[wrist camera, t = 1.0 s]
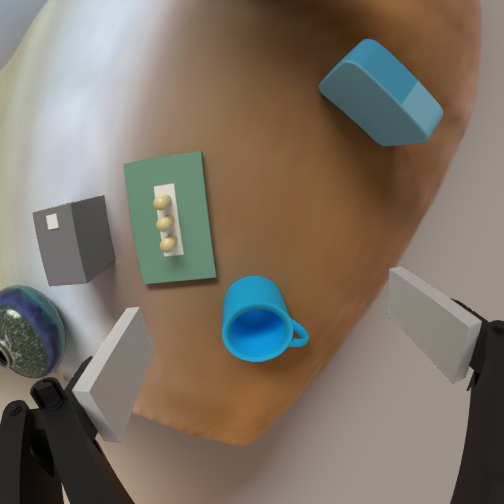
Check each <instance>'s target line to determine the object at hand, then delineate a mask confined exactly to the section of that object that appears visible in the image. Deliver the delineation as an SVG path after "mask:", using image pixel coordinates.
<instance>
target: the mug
mask: <svg viewBox="0 0 504 504" xmlns="http://www.w3.org/2000/svg"><path fill="white" fill-rule="evenodd" d="M293 330H294V331H295V332H296V333H297V334H298V335H299V336H300V337H301V339H297V338H292V337H293ZM222 335H223V341H224V343H225V346H226V348H227V349H228V350H229V351H230V352H231V353H232V354H233V355H234V356H236V357H238V358H240V359H242V360H246V361H250V362H263V361H266V360H270V359H273V358H275V357H276V356H278V355H280V354H281V353H283V351H284V350H285V349H286V348H287V347H288V346H290V347H301V346H304V345H305V344H306V343H307V342H308V341H309V335H308V333H307V331H306V330H305V329H304V328H303V327H302V326H301V325H300V324H299V323H298V322H296V321H295V320H293V319H292V318H290V316H289V313H288V310H287V308H286V305H285V302H284V300H283V297H282V294H281V292H280V290H279V288H278V287H277V286H276V284H275V283H273V282H272V281H270V280H269V279H267V278H264V277H260V276H248V277H245V278H242V279H239V280H238V281H236V282H235V283H234V284H232V285H231V287H230V288H229V289H228V291H227V293H226V296H225V299H224V310H223V326H222Z"/></svg>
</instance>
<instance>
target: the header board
mask: <svg viewBox="0 0 504 504" xmlns="http://www.w3.org/2000/svg"><path fill="white" fill-rule="evenodd" d="M124 172H125V180H126V188H127V196H128V203H129V210H130V216H131V223H132V229H133V234H134V240H135V246H136V251H137V256H138V261H139V266H140V271H141V275H142V280H143V284H151V283H162V282H173V281H184V280H194V279H204V278H214V277H216V275H217V273H216V266H215V259H214V251H213V244H212V236H211V228H210V220H209V212H208V204H207V195H206V186H205V177H204V168H203V158H202V151H197V152H189V153H183V154H176V155H170V156H164V157H158V158H152V159H147V160H142V161H136V162H131V163H127V164H124Z"/></svg>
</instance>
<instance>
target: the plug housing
mask: <svg viewBox="0 0 504 504" xmlns="http://www.w3.org/2000/svg"><path fill="white" fill-rule="evenodd" d="M33 218H34V224H35V229H36V234H37V239H38V244H39V249H40V253H41V257H42V261H43V265H44V269H45V273H46V277H47V280H48V284H49V286H59V285H72V284H84V283H88V282H89V281H90V280H91V279H93V278H94V277H95V276H96V275H97V274H99V273H100V272H101V271H102V270H103V269H104V268H106V267H107V266H108V265H109V264H111V263H112V262H113V261H114V260H115V256H114V251H113V246H112V241H111V236H110V230H109V225H108V219H107V212H106V206H105V199H104V195H103V196H99V197H94V198H90V199H86V200H82V201H77V202H71V203H67V204H63V205H59V206H55V207H52V208H48V209H45V210H41V211H37V212H34V213H33Z"/></svg>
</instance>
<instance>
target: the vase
mask: <svg viewBox="0 0 504 504" xmlns="http://www.w3.org/2000/svg"><path fill="white" fill-rule="evenodd" d="M65 345H66V335H65V329H64V325H63V322H62V319H61V317H60V315H59V313H58V311H57V310H56V308H55V307H54V305H53V304H52V303H51V301H50V300H49V299H48V298H47V297H46V296H44V295H43V294H42V293H41V292H39V291H37V290H36V289H33V288H31V287H28V286H22V285H14V286H10V287H7V288H4V289H2V290H1V291H0V365H1V366H2V367H4V368H10V369H11V370H12V371H14V372H16V373H17V374H19V375H21V376H24V377H28V378H35V379H38V378H43V377H46V376H48V375H50V374H51V373H53V372H54V371H55V370H56V369H57V368H58V366H59V364H60V363H61V361H62V359H63V355H64V352H65Z"/></svg>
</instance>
